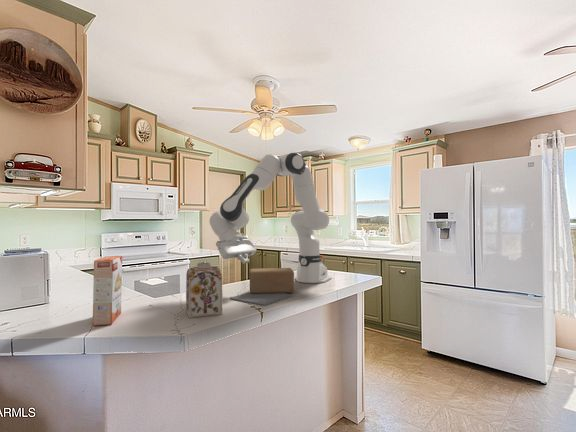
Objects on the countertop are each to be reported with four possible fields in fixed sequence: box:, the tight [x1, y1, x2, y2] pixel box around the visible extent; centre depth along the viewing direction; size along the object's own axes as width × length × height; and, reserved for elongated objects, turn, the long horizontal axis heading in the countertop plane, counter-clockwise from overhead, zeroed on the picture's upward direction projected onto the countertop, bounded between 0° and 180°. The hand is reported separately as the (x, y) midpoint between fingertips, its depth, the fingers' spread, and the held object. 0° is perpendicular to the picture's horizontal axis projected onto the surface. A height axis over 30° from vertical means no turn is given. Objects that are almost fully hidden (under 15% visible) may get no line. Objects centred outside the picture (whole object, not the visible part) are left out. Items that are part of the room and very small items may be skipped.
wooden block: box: [249, 267, 295, 294], centre depth 147 cm, size 10×10×20 cm
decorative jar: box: [185, 261, 223, 319], centre depth 115 cm, size 12×12×18 cm
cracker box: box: [92, 255, 123, 327], centre depth 107 cm, size 14×6×21 cm, turn 17°
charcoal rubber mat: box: [229, 291, 294, 307], centre depth 137 cm, size 20×19×1 cm
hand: (246, 262), depth 142 cm, fingers closed
